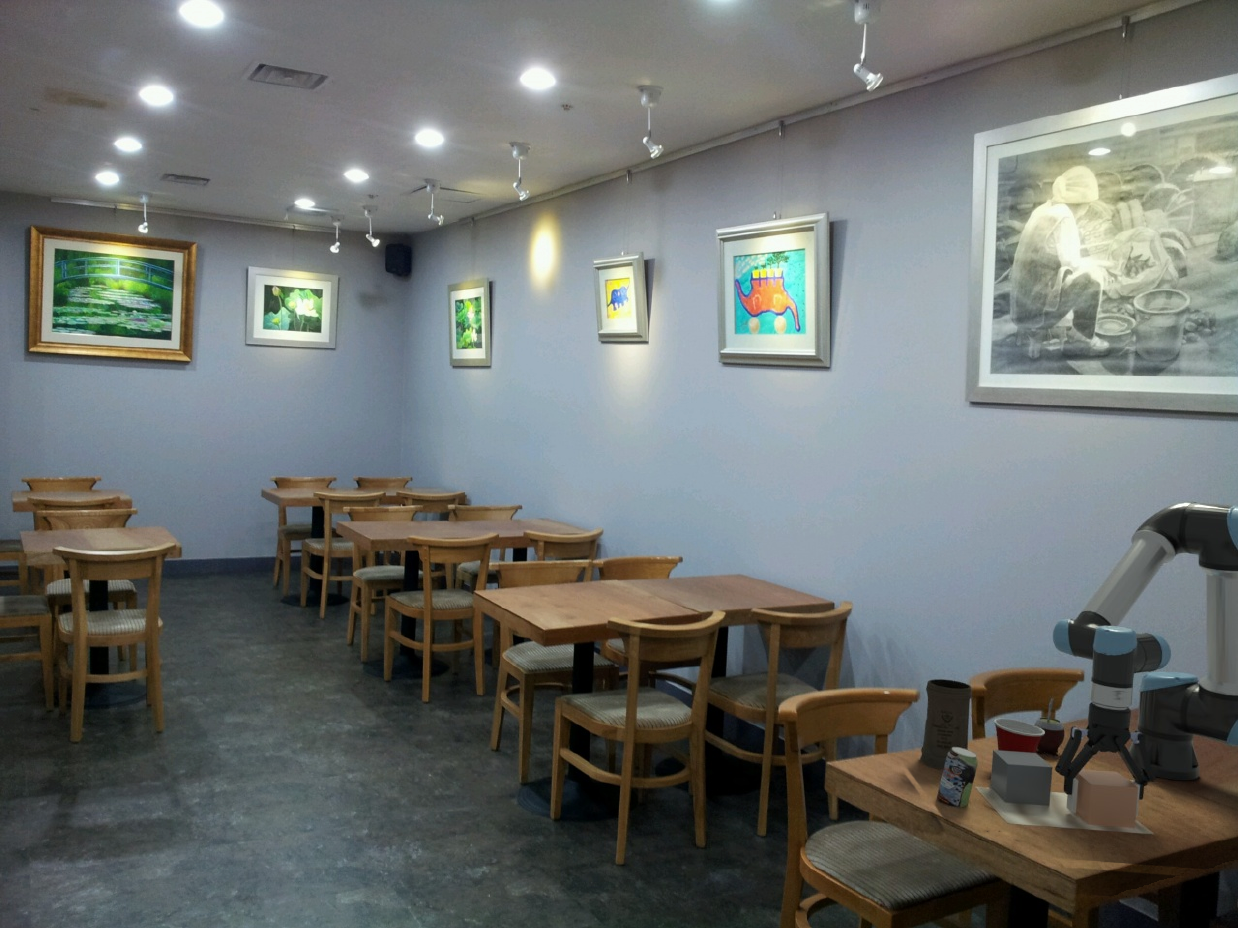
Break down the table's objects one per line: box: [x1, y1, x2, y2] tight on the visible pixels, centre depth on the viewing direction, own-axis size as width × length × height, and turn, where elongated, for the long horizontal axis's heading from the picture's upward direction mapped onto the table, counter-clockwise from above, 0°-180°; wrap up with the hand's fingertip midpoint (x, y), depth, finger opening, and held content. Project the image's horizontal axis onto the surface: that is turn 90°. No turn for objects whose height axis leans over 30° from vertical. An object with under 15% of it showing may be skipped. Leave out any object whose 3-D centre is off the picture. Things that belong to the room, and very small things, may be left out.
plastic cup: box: [993, 717, 1045, 754], centre depth 225 cm, size 11×11×12 cm
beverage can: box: [936, 747, 979, 808], centre depth 203 cm, size 6×7×12 cm
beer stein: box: [919, 678, 973, 771], centre depth 230 cm, size 15×11×20 cm
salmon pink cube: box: [1075, 768, 1138, 828], centre depth 200 cm, size 9×9×8 cm
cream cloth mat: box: [974, 786, 1155, 835], centre depth 203 cm, size 28×20×1 cm
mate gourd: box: [1034, 697, 1065, 758], centre depth 244 cm, size 8×8×15 cm
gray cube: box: [989, 749, 1053, 806], centre depth 209 cm, size 9×9×8 cm
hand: (1101, 812), depth 200 cm, fingers open, 11 cm apart
